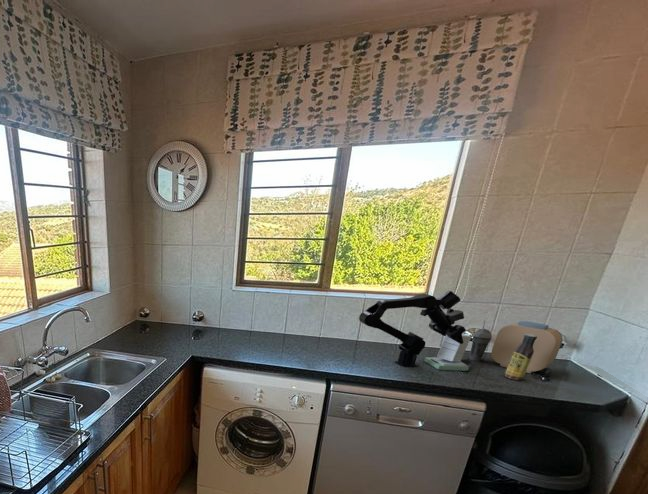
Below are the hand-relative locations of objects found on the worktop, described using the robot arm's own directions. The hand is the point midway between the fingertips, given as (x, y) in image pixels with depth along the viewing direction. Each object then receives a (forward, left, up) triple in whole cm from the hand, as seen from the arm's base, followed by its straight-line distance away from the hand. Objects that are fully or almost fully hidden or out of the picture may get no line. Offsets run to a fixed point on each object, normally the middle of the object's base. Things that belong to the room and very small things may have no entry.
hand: (456, 340), depth 186 cm
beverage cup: (+21, +8, -13) cm, 26 cm away
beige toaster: (+31, -5, -13) cm, 34 cm away
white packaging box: (-1, 0, -9) cm, 10 cm away
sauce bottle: (+17, -17, -13) cm, 27 cm away
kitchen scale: (-1, 0, -13) cm, 13 cm away
